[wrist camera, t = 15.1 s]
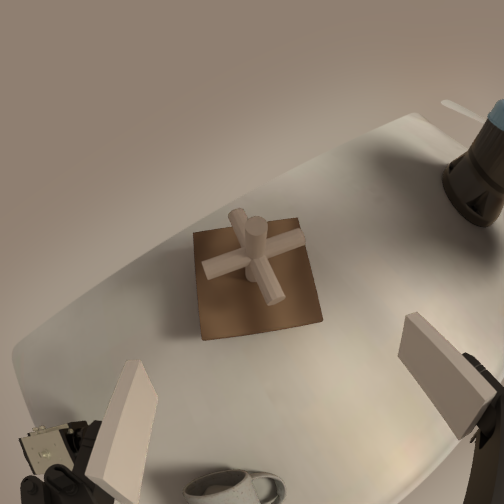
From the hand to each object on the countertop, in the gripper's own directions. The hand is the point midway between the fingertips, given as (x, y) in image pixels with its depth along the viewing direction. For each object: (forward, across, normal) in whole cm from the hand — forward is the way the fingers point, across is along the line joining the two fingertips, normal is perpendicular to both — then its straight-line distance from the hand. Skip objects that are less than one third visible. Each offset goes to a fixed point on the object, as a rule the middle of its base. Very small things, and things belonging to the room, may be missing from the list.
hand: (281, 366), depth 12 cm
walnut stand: (+22, 0, -7) cm, 23 cm away
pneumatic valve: (+9, -25, -21) cm, 34 cm away
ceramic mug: (+4, -6, -26) cm, 27 cm away
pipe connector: (+19, 0, -3) cm, 19 cm away
